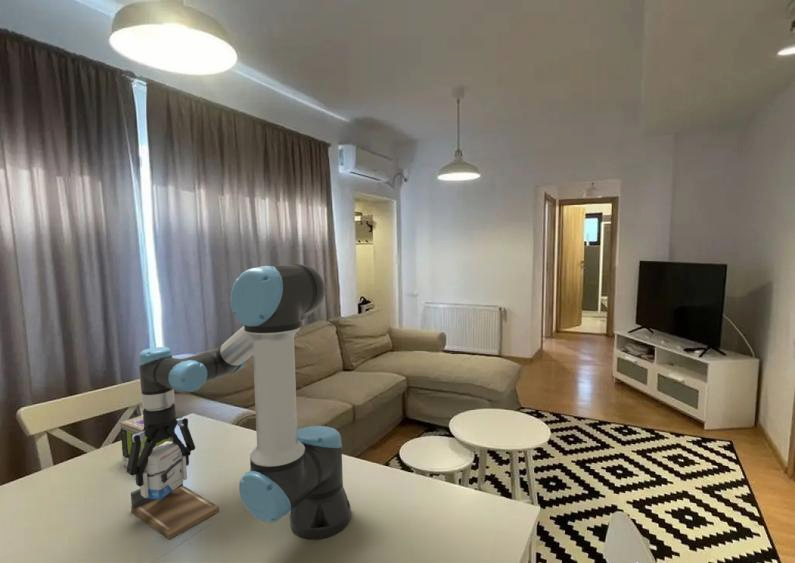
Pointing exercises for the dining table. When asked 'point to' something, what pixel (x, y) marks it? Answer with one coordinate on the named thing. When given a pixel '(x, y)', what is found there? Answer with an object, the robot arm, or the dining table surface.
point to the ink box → (164, 470)
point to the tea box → (127, 430)
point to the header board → (173, 510)
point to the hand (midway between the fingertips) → (164, 486)
